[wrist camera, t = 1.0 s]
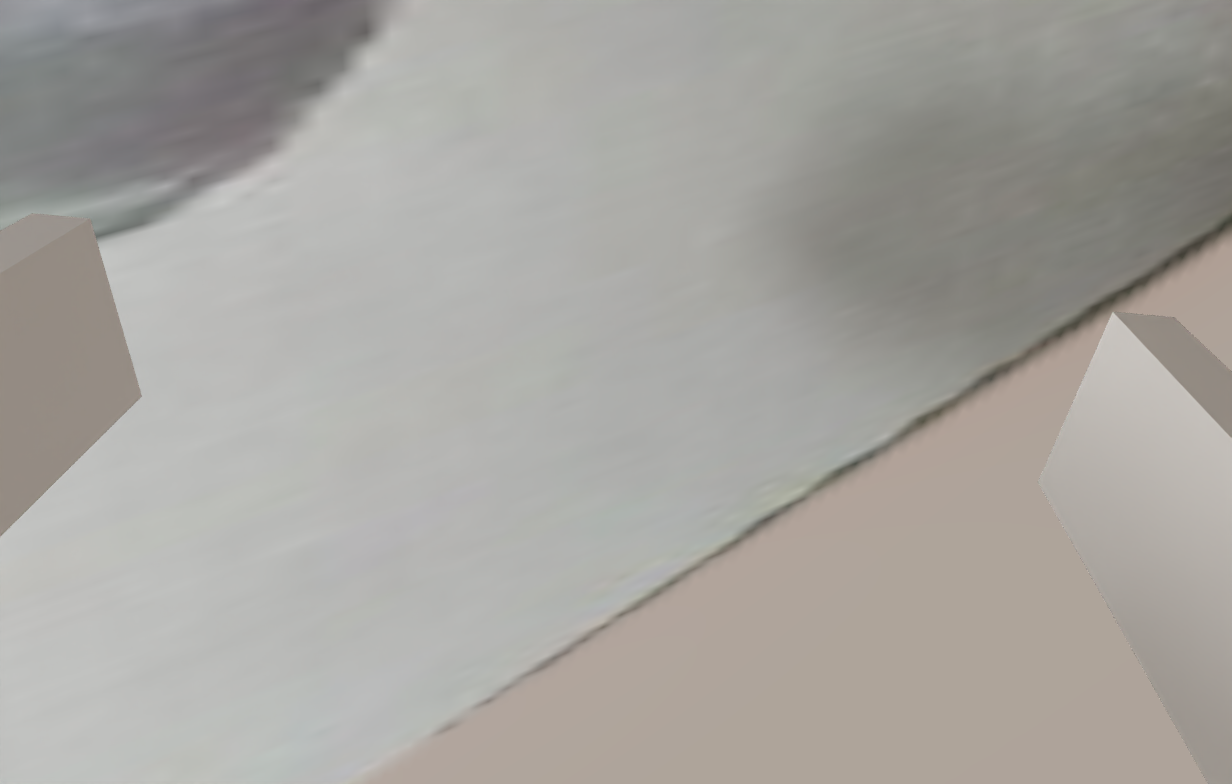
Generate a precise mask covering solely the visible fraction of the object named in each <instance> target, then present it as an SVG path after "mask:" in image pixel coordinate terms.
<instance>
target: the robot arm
mask: <svg viewBox="0 0 1232 784" xmlns="http://www.w3.org/2000/svg"><path fill="white" fill-rule="evenodd" d="M141 397H142V395H141V392H140V388H139V385H138V381H137V378H136V374H135V371H134V368H133V364H132V361H131V357H130V354H129V350H128V347H127V344H126V340H125V337H124V333H123V330H122V326H121V323H120V320H119V316H118V313H117V309H116V306H115V302H114V299H113V295H112V292H111V289H110V285H109V282H108V278H107V275H106V271H105V268H104V265H103V261H102V258H101V254H100V251H99V247H98V244H97V241H96V237H95V234H94V230H93V227H92V223H91V220H90V219H88V218H77V217H66V216H55V215H44V214H33V213H32V214H30V215H28V216H27V217H25V218H23V219H21V220H19V221H17V222H16V223H14V224H12V225H10V226H8V227H6V228H5V229H3V230H1V231H0V536H1V535H2V534H3V533H4V532H5V531H6V530H7V529H8V528H9V527H10V526H11V525H12V524H13V523H14V522H15V521H17V520H18V519H19V518H20V517H21V516H22V515H23V514H24V513H25V512H26V511H27V510H28V509H29V508H30V507H31V506H32V505H33V504H34V503H35V502H36V501H37V500H38V499H39V498H40V497H41V496H42V495H43V494H44V493H45V492H46V491H47V490H48V489H49V488H50V487H51V486H52V485H53V484H54V483H55V482H56V481H57V480H58V479H59V478H60V477H61V476H62V475H63V474H64V473H65V472H66V471H67V470H68V469H69V468H70V467H71V466H72V465H73V464H74V463H75V462H76V461H77V460H78V459H79V458H80V457H81V456H82V455H83V454H84V453H85V452H86V451H87V450H88V449H89V448H90V447H91V446H92V445H93V444H94V443H95V442H96V441H97V440H98V439H99V438H100V437H101V436H102V435H103V434H104V433H105V432H106V431H107V430H108V429H109V428H110V427H111V426H112V425H113V424H114V423H115V422H116V421H117V420H118V419H119V418H120V417H121V416H122V415H123V414H124V413H125V412H126V411H127V410H128V409H129V408H131V407H132V406H133V405H134V404H135V403H136V402H137V401H138V400H139V399H140V398H141ZM1038 483H1039V485H1040V487H1041V489H1042V490H1043V492H1044V494H1045V496H1046V498H1047V499H1048V501H1049V503H1050V504H1051V506H1052V508H1053V510H1054V511H1055V514H1056V515H1057V517H1058V519H1059V521H1060V522H1061V524H1062V526H1063V528H1064V529H1065V531H1066V533H1067V535H1068V536H1069V538H1070V540H1071V542H1072V544H1073V546H1074V547H1075V549H1076V551H1077V552H1078V554H1079V556H1080V558H1081V560H1082V562H1083V563H1084V565H1085V567H1086V569H1087V570H1088V572H1089V574H1090V576H1091V577H1092V579H1093V581H1094V583H1095V585H1096V586H1097V588H1098V590H1099V592H1100V593H1101V595H1102V597H1103V599H1104V600H1105V602H1106V604H1107V606H1108V608H1109V609H1110V611H1111V613H1112V615H1113V616H1114V618H1115V620H1116V622H1117V624H1118V625H1119V627H1120V629H1121V631H1122V632H1123V634H1124V636H1125V638H1126V640H1127V641H1128V643H1129V645H1130V647H1131V648H1132V650H1133V652H1134V654H1135V656H1136V657H1137V659H1138V661H1139V663H1140V664H1141V666H1142V668H1143V670H1144V672H1145V673H1146V675H1147V677H1148V679H1149V680H1150V682H1151V684H1152V686H1153V687H1154V689H1155V691H1156V693H1157V695H1158V696H1159V698H1160V700H1161V702H1162V704H1163V705H1164V707H1165V709H1166V710H1167V712H1168V714H1169V716H1170V718H1171V720H1172V721H1173V723H1174V725H1175V726H1176V728H1177V730H1178V732H1179V733H1180V735H1181V737H1182V739H1183V741H1184V743H1185V744H1186V746H1187V748H1188V750H1189V751H1190V753H1191V755H1192V757H1193V758H1194V760H1195V762H1196V764H1197V765H1198V767H1199V769H1200V771H1201V773H1202V774H1203V776H1204V778H1205V780H1206V781H1207V783H1208V784H1232V371H1231V370H1229V369H1228V368H1227V367H1226V366H1225V365H1224V364H1223V363H1222V362H1221V361H1220V360H1219V359H1218V358H1217V357H1216V356H1215V355H1213V354H1212V353H1211V352H1210V351H1209V350H1208V349H1207V348H1206V347H1205V346H1204V345H1203V344H1202V343H1201V342H1200V341H1199V340H1198V339H1197V338H1196V337H1194V336H1193V335H1192V334H1191V333H1190V332H1189V331H1188V330H1187V329H1186V328H1185V327H1184V326H1183V325H1182V324H1181V323H1180V322H1179V321H1177V320H1176V319H1175V318H1174V317H1164V316H1154V315H1142V314H1132V313H1121V312H1112V314H1111V317H1110V319H1109V321H1108V324H1107V326H1106V328H1105V330H1104V333H1103V335H1102V337H1101V340H1100V342H1099V344H1098V346H1097V349H1096V351H1095V353H1094V356H1093V358H1092V360H1091V362H1090V365H1089V367H1088V369H1087V371H1086V374H1085V376H1084V378H1083V380H1082V383H1081V385H1080V387H1079V390H1078V392H1077V394H1076V397H1075V399H1074V401H1073V403H1072V406H1071V408H1070V410H1069V412H1068V415H1067V417H1066V419H1065V421H1064V424H1063V426H1062V428H1061V431H1060V433H1059V435H1058V437H1057V440H1056V442H1055V445H1054V447H1053V449H1052V451H1051V453H1050V456H1049V458H1048V460H1047V463H1046V465H1045V467H1044V469H1043V472H1042V474H1041V476H1040V478H1039V481H1038Z"/></svg>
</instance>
